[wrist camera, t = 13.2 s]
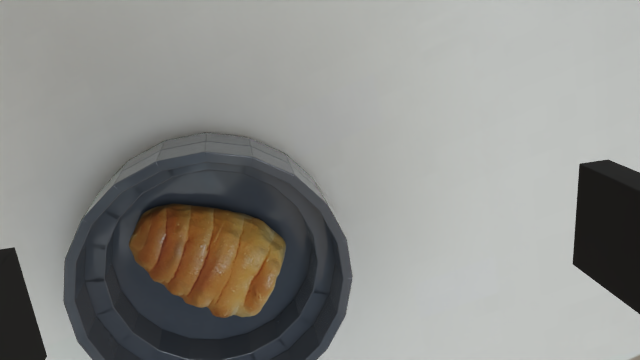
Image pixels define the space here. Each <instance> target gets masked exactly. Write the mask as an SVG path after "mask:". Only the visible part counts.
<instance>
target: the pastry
mask: <svg viewBox="0 0 640 360" xmlns="http://www.w3.org/2000/svg"><path fill="white" fill-rule="evenodd" d="M129 247H130V250H131V251H132V254H133V256H134V259H135V261H136V262H137V263H138V264H139V265H140V266H142V267H143V268H144V269H145V270H146V271H147V272H148V273H149V275H150V277H151V278H152V279H153V281H155V282H159V283H161V284H163V285H165V287H166V288H167V290H168V291H169V292H170V293H171V294H173V295H177V296H180V297H182V298H183V300H184V301H185V303H187V304H190V305H193V306H196V307H200V308H203V307H208V308H209V309H210V311H211V313H212V314H213V315H214V316H216V317H221V318H226V317H229V316H232V315H237V316H240V317H251V316H255V315H256V314H258V313H259V312H260V311H261V309H262V307H263V306H264V304H265V303H266V301H267V300H268V298H269V296H270V294H271V293H272V291H273V289H274V287H275V283H276V278H277V276H278V275H279V273H280V270H281V266H282V263H283V259H284V257H285V251H286V244H285V241H284V240H283V238H282V237H281V236H280V235H279V234H277V233H276V232H275V231H274V230H272V229H271V228H270V227H269V226H268V225H267V224H266V223H265V222H264V221H262V220H260V219H258V218H254V217H252V216H249V215H246V214H244V213H237V212H231V211H228V210H222V209H218V208H210V207H202V206H193V205H184V204H169V205H164V206H158V207H154V208H152V209H150V210H148V211H146V212H145V213H143V214H142V215H141V217H140V219H139V221H138V222H137V224H136V227H135V230H134V232H133V235H132V236H131V238H130V241H129Z"/></svg>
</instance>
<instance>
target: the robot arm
mask: <svg viewBox="0 0 640 360" xmlns="http://www.w3.org/2000/svg"><path fill="white" fill-rule="evenodd" d="M573 265H575V266H576V267H577V268H579V269H580V270H581V271H583V272H584V273H585V274H587V275H588V276H589V277H591V278H592V279H593V280H595V281H596V282H597V283H599V284H600V285H601V286H603V287H604V288H606V289H607V290H608V291H610V292H611V293H612V294H614V295H615V296H616V297H618V298H619V299H620V300H622V301H623V302H624V303H626V304H627V305H628V306H630V307H631V308H632V309H634V310H635V311H636V312H638V313H639V314H640V173H639V172H637V171H634V170H632V169H629V168H627V167H625V166H622V165H620V164H617V163H615V162H612V161H610V160H603V161H596V162H589V163H582V164H580V166H579V181H578V195H577V210H576V225H575V239H574V254H573ZM46 357H47V355H46V351H45V348H44V345H43V341H42V338H41V335H40V331H39V328H38V325H37V321H36V318H35V314H34V311H33V308H32V304H31V301H30V298H29V294H28V291H27V288H26V284H25V281H24V278H23V274H22V271H21V267H20V264H19V261H18V257H17V254H16V251H15V247H14V248H7V249H1V250H0V360H45V359H46Z"/></svg>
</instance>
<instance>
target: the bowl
mask: <svg viewBox="0 0 640 360" xmlns="http://www.w3.org/2000/svg"><path fill="white" fill-rule="evenodd" d="M169 204H184V205H193V206H202V207H210V208H218V209H222V210H228V211H231V212H237V213H244V214H246V215H249V216H252V217H254V218H258V219H260V220H262V221H264V222H265V223H266V224H267V225H268V226H269V227H270V228H271V229H272V230H274V231H275V232H276V233H277V234H279V235H280V236H281V237H282V238H283V240H284V241H285V244H286V251H285V257H284V259H283V263H282V266H281V270H280V273H279V275H278V276H277V278H276V283H275V287H274V289H273V291H272V293H271V294H270V296H269V298H268V300H267V301H266V303H265V304H264V306H263V307H262V309H261V311H260V312H259V313H258V314H256V315H255V316H251V317H240V316H237V315H232V316H229V317H226V318H221V317H216V316H214V315H213V314H212V313H211V311H210V309H209V308H208V307H203V308H200V307H196V306H193V305H190V304H187V303H185V301H184V300H183V298H182V297H180V296H177V295H173V294H171V293H170V292H169V291H168V290H167V288H166V287H165V285H163V284H161V283H159V282H155V281H153V279H152V278H151V277H150V275H149V273H148V272H147V271H146V270H145V269H144V268H143V267H142V266H140V265H139V264H138V263H137V262H136V261H135V259H134V256H133V254H132V251H131V250H130V247H129V241H130V238H131V236H132V235H133V232H134V230H135V227H136V224H137V222H138V221H139V219H140V217H141V215H142V214H143V213H145V212H146V211H148V210H150V209H152V208H154V207H158V206H164V205H169ZM351 283H352V270H351V264H350V258H349V251H348V245H347V240H346V237H345V235H344V233H343V232H342V230H341V228H340V226H339V224H338V223H337V221H336V219H335V217H334V215H333V213H332V212H331V210H330V208H329V206H328V204H327V202H326V201H325V199H324V197H323V195H322V193H321V192H320V190H319V188H318V186H317V184H316V183H315V181H314V179H313V178H312V177H311V176H310V175H308V174H307V173H306V172H305V171H304V170H303V169H302V168H301V167H300V166H299V165H297V164H296V163H295V162H294V161H293V160H292V159H291V158H290V157H289V156H288V155H286V154H285V153H283V152H281V151H278V150H276V149H274V148H272V147H269V146H267V145H265V144H263V143H260V142H258V141H256V140H254V139H251V138H248V137H242V136H233V135H224V134H215V133H202V134H197V135H191V136H186V137H181V138H176V139H171V140H166V141H163V142H161V143H160V144H158V145H156V146H154V147H152V148H150V149H149V150H147V151H145V152H143V153H141V154H140V155H138V156H136V157H134V158H132V159H130V160H129V161H128V162H126V163H125V164H124V166H123V167H122V168H121V169H120V170H119V171H118V172H117V173H116V174H115V175H114V176H113V177H112V179H111V180H110V181H109V182H108V183H107V184H106V185H105V186H104V187H103V188H102V189H101V191H100V192H99V194H98V195H97V197H96V198H95V200H94V201H93V203H92V204H91V206H90V207H89V209H88V210H87V212H86V214H85V215H84V217H83V218H82V220H81V222H80V224H79V227H78V229H77V231H76V234H75V236H74V239H73V241H72V243H71V246H70V248H69V251H68V253H67V255H66V258H65V268H64V305H65V307H66V310H67V313H68V316H69V319H70V322H71V324H72V327H73V330H74V333H75V336H76V339H77V341H78V343H79V344H80V345H81V346H82V348H83V349H84V350H85V351H86V352H87V354H88V355H89V356H90V357H91V359H92V360H317V359H318V358H319V357H320V356H321V355H322V354H323V353H324V352H325V351H326V349H328V347H329V345H330V343H331V341H332V340H333V338H334V336H335V334H336V332H337V330H338V329H339V327H340V325H341V323H342V321H343V319H344V318H345V315H346V310H347V305H348V299H349V294H350V289H351Z"/></svg>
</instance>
